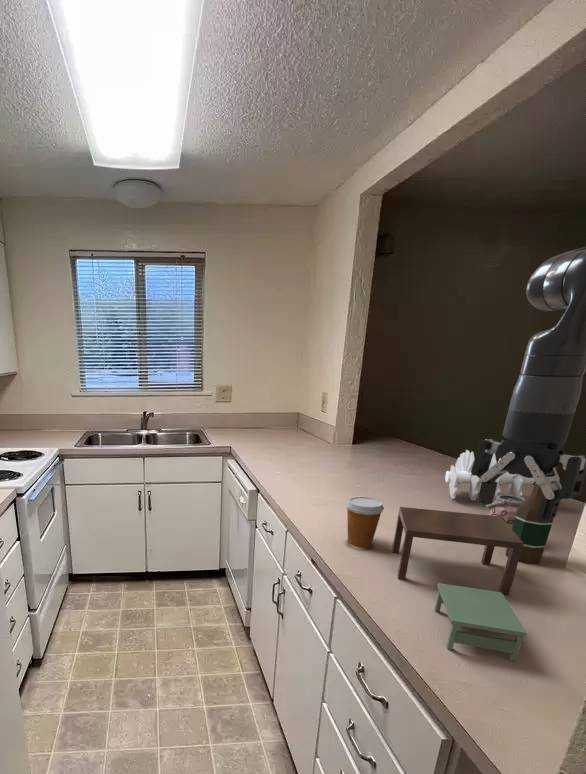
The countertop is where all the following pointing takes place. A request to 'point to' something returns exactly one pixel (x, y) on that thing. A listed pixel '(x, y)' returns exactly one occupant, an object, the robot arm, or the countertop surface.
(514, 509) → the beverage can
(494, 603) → the stool
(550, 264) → the robot arm
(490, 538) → the side table
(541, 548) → the beer bottle
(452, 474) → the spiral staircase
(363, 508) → the disposable coffee cup
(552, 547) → the countertop surface
